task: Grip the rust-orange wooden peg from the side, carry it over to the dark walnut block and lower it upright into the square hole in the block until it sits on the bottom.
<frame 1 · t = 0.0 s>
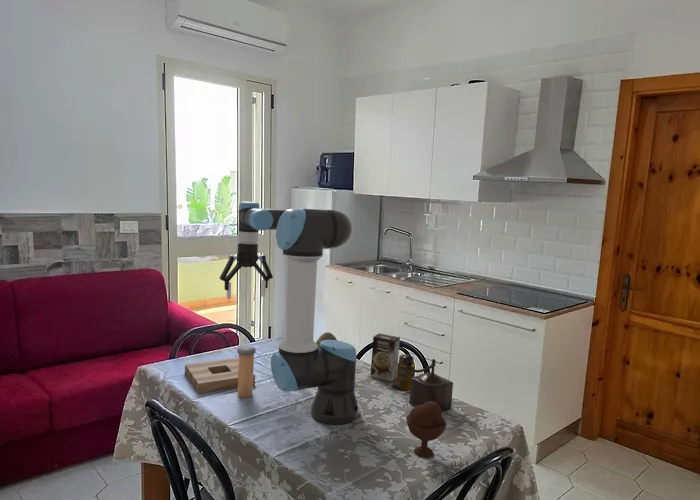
hand: (246, 297, 186), 28 cm above the table, tool pointing down, fingers open, 13 cm apart
peg: (245, 394, 165), on the table
coffee box: (383, 377, 189), on the table
walnut block: (219, 378, 178), on the table
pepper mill: (423, 407, 163), on the table
decorative egg: (325, 369, 194), on the table
ice cream bowl: (423, 453, 134), on the table
condiment: (402, 389, 179), on the table
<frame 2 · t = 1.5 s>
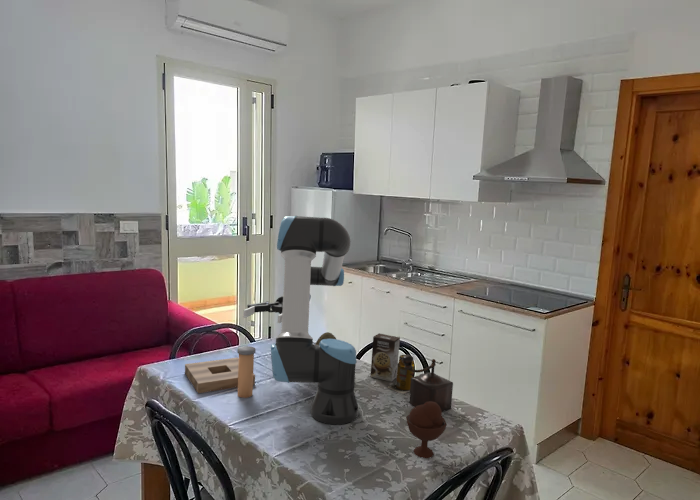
hand: (261, 316, 171), 25 cm above the table, tool horizontal, fingers open, 13 cm apart
nothing on the table moved.
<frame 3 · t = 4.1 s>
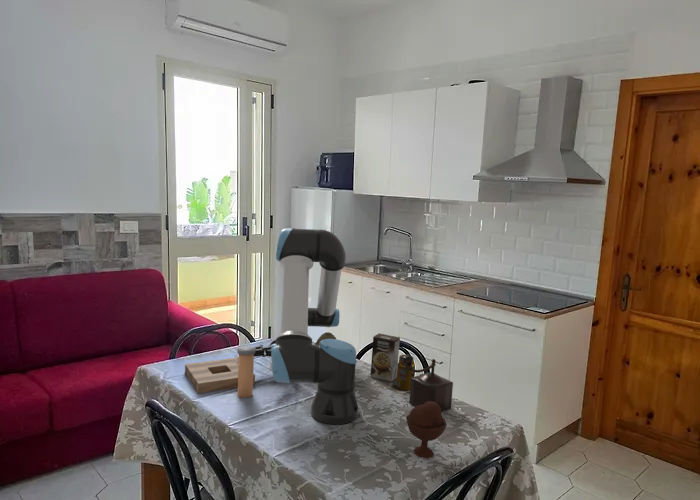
hand: (254, 363, 170), 9 cm above the table, tool horizontal, fingers open, 13 cm apart
nothing on the table moved.
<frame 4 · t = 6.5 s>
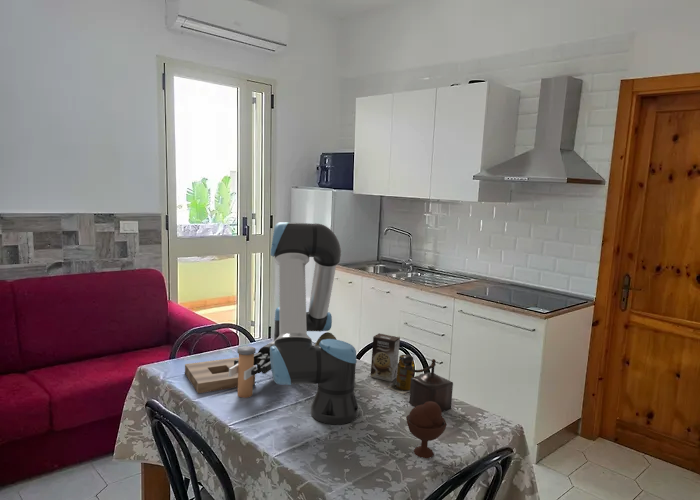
hand: (237, 374, 159), 9 cm above the table, tool horizontal, fingers closed on peg, 5 cm apart
peg: (245, 394, 165), on the table, touching gripper
everything else where it was.
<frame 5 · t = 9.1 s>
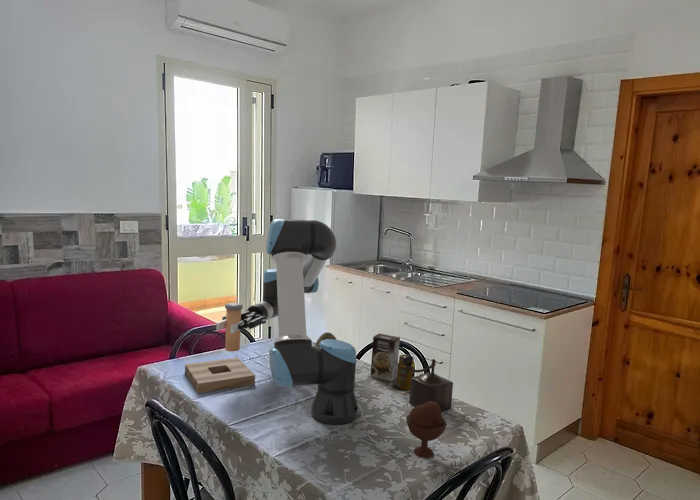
hand: (224, 328, 166), 22 cm above the table, tool horizontal, fingers closed on peg, 5 cm apart
peg: (232, 349, 172), point 13 cm above the table, touching gripper
everything else where it was.
when the fingers open (10 cm above the table, at t = 11.8 s): peg drops 1 cm, resting in walnut block.
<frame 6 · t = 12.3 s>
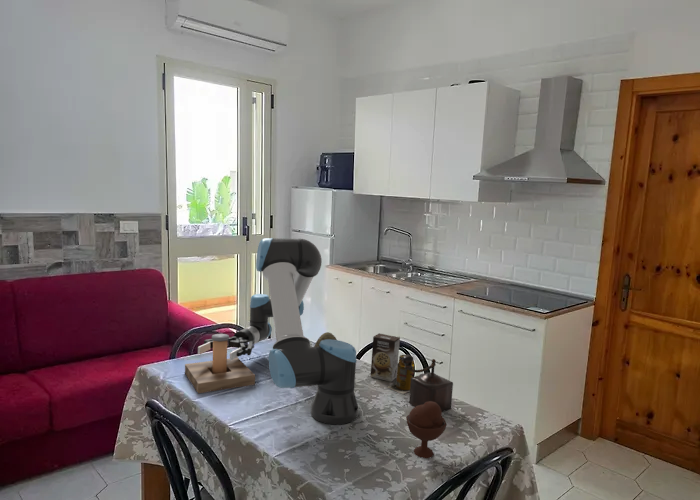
hand: (214, 353, 173), 10 cm above the table, tool horizontal, fingers open, 13 cm apart
peg: (219, 378, 178), resting in walnut block
everything else where it was.
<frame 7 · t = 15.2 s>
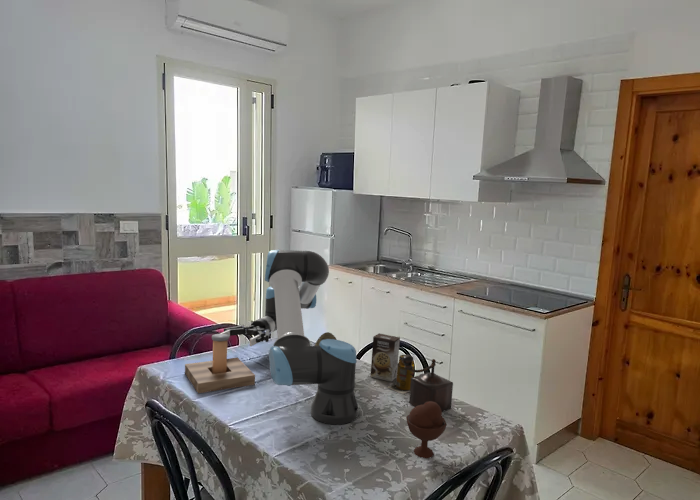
hand: (234, 340, 185), 12 cm above the table, tool horizontal, fingers open, 13 cm apart
nothing on the table moved.
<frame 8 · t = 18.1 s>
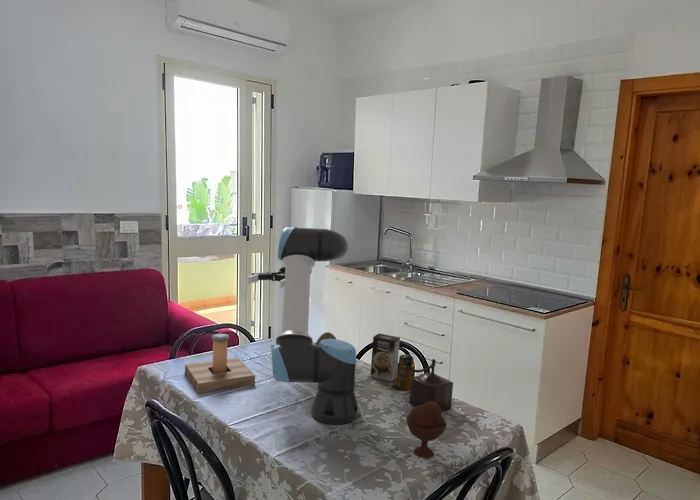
hand: (264, 282, 183), 35 cm above the table, tool horizontal, fingers open, 13 cm apart
nothing on the table moved.
at the end: peg 0.1 cm from the walnut block (horizontally); peg resting in walnut block; peg tilted 0° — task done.
